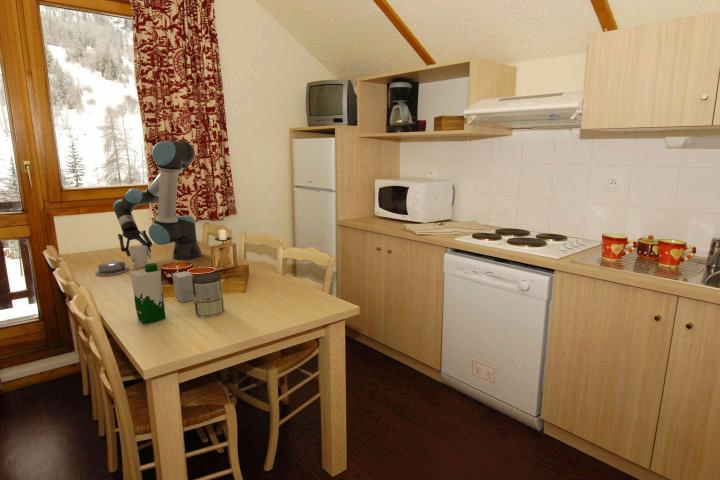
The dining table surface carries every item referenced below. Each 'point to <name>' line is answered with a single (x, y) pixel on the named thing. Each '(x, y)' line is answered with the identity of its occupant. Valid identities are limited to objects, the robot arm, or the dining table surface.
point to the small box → (183, 286)
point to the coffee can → (208, 295)
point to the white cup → (139, 255)
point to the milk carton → (148, 294)
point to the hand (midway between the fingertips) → (141, 258)
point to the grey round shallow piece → (111, 268)
